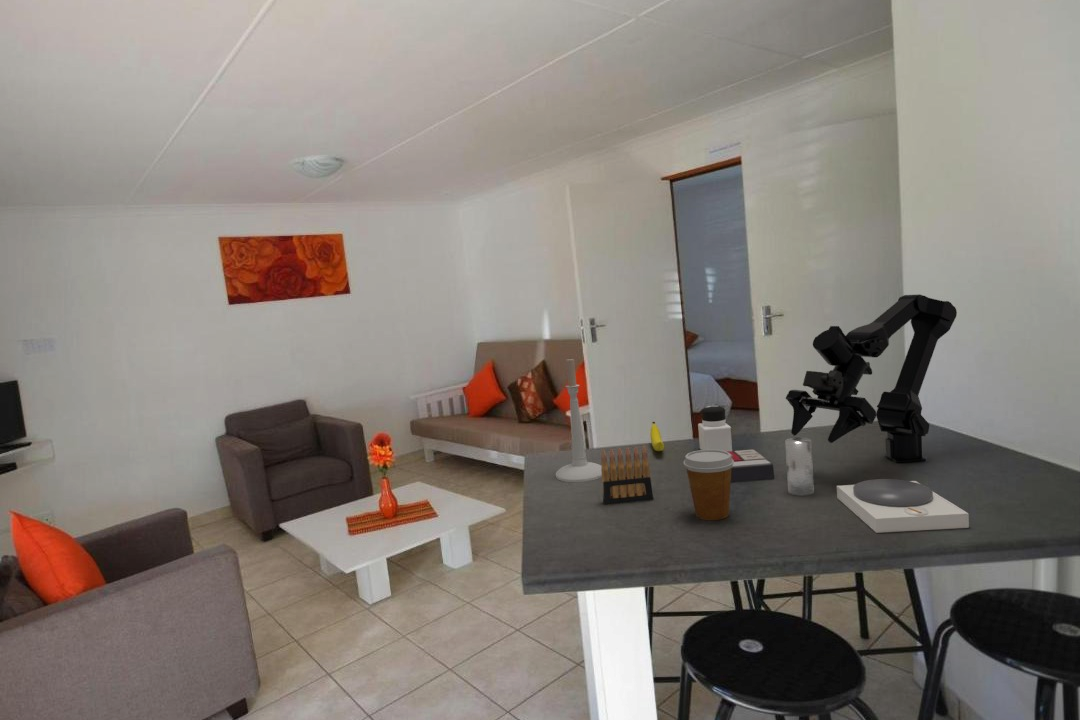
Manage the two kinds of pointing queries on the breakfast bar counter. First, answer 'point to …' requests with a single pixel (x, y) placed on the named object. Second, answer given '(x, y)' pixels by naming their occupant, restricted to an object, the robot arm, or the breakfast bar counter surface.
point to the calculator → (750, 466)
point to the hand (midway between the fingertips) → (810, 438)
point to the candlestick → (577, 440)
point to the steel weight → (799, 466)
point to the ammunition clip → (626, 478)
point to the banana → (656, 438)
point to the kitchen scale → (901, 506)
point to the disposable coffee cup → (710, 482)
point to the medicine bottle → (714, 430)
